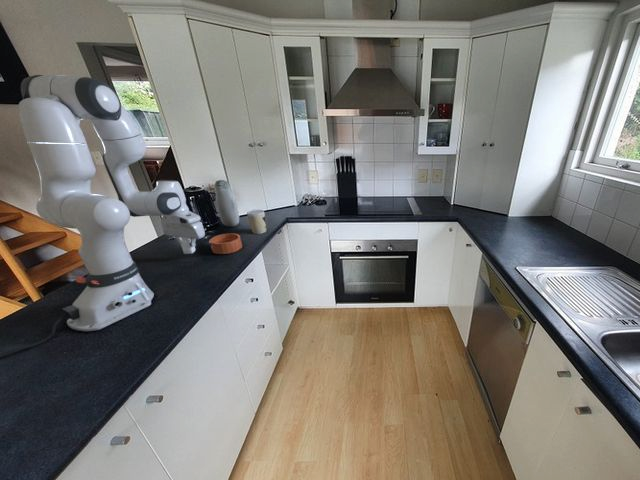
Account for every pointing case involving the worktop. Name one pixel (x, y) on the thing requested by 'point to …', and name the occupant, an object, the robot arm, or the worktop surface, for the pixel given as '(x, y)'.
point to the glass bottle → (226, 204)
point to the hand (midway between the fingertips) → (187, 245)
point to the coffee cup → (257, 221)
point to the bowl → (225, 243)
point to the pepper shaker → (187, 246)
